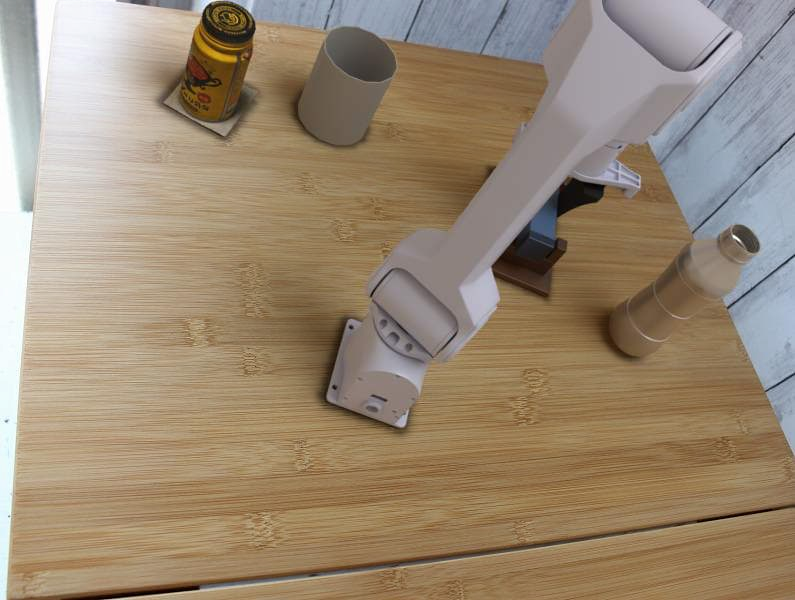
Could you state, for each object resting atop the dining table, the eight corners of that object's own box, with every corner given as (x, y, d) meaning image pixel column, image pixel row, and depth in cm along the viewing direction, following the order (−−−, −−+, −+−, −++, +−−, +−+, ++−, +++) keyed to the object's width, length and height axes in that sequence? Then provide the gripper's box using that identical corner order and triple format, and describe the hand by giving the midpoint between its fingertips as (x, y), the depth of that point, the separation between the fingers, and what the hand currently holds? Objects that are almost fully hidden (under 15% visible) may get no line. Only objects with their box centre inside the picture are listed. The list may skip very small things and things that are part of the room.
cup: (370, 106, 100) (401, 43, 92) (362, 154, 95) (394, 93, 88) (303, 81, 98) (329, 15, 90) (291, 129, 93) (318, 64, 86)
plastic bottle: (614, 365, 93) (737, 268, 78) (592, 313, 96) (707, 209, 81) (657, 362, 96) (784, 268, 81) (635, 311, 99) (753, 211, 84)
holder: (546, 297, 95) (573, 270, 90) (475, 268, 93) (500, 238, 88) (556, 198, 104) (581, 168, 100) (492, 169, 103) (514, 138, 98)
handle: (539, 264, 92) (554, 247, 90) (514, 253, 92) (528, 236, 89) (548, 176, 101) (562, 159, 98) (526, 166, 100) (539, 149, 98)
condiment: (162, 104, 88) (182, 16, 79) (199, 61, 93) (222, -26, 84) (224, 138, 89) (250, 55, 80) (257, 93, 94) (286, 11, 85)
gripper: (666, 129, 88) (594, 206, 99) (546, 72, 85) (486, 157, 96) (666, 175, 84) (592, 250, 95) (540, 117, 81) (478, 201, 92)
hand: (538, 207), depth 95 cm, fingers closed on handle, 3 cm apart
